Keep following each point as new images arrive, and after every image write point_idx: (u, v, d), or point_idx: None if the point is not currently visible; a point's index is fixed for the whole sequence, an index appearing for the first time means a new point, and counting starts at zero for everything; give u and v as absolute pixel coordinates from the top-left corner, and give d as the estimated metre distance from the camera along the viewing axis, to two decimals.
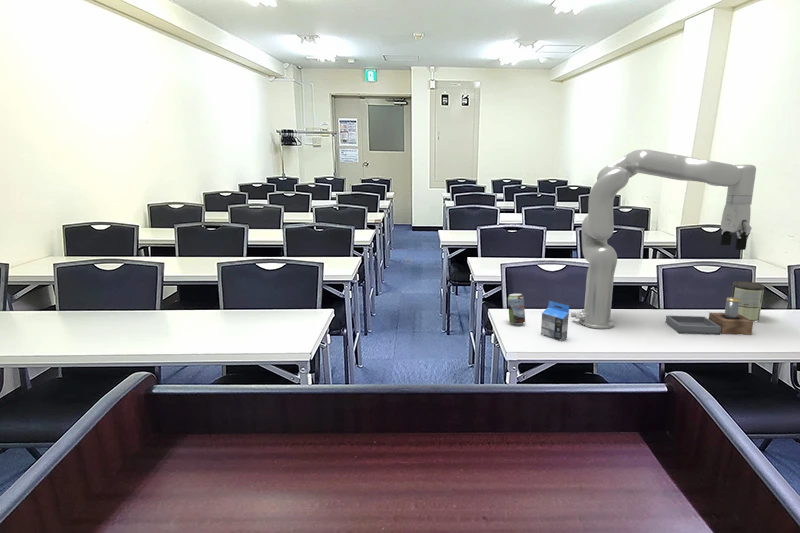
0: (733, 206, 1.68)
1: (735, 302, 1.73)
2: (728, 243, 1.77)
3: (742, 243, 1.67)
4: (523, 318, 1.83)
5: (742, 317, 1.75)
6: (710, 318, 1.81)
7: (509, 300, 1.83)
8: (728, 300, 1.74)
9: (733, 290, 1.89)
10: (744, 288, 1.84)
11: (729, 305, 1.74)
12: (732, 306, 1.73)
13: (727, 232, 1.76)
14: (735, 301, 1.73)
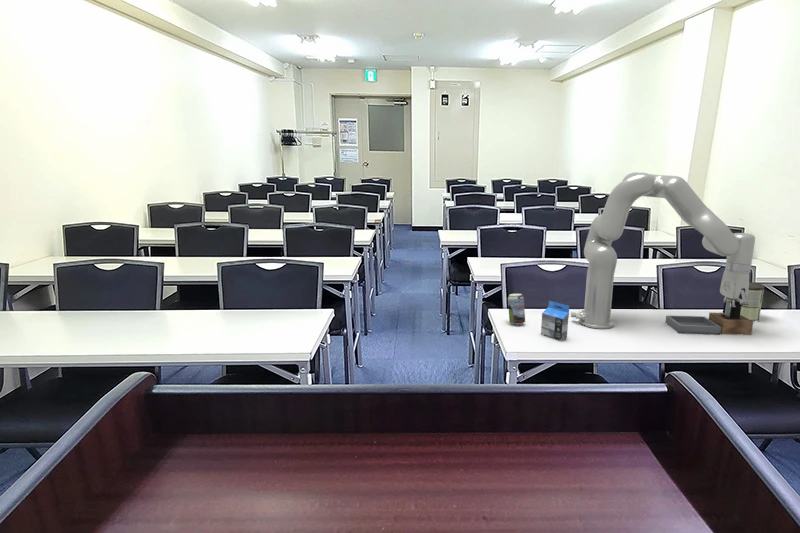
0: (732, 274, 1.71)
1: None
2: None
3: (736, 312, 1.72)
4: (523, 318, 1.83)
5: (742, 317, 1.75)
6: (710, 318, 1.81)
7: (509, 300, 1.83)
8: (728, 300, 1.74)
9: None
10: None
11: (729, 305, 1.74)
12: None
13: None
14: None
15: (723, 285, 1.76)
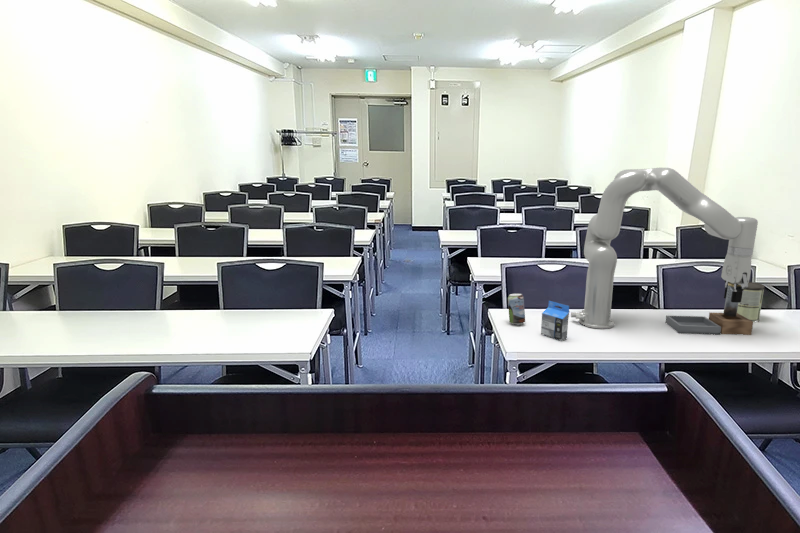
0: (734, 258, 1.70)
1: None
2: None
3: (738, 296, 1.71)
4: (523, 318, 1.83)
5: (742, 317, 1.75)
6: (710, 318, 1.81)
7: (509, 300, 1.83)
8: (729, 285, 1.73)
9: None
10: None
11: (730, 290, 1.73)
12: None
13: None
14: (737, 286, 1.72)
15: (725, 270, 1.75)
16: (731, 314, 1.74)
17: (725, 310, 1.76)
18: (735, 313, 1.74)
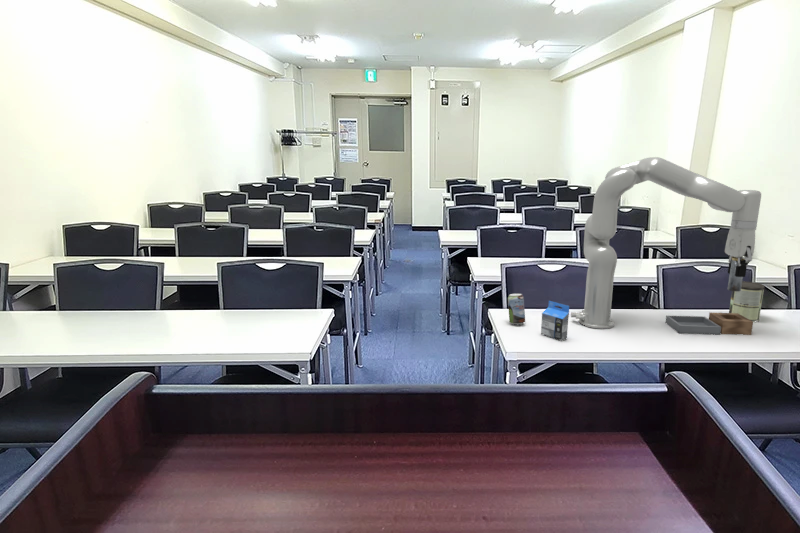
0: (738, 231, 1.68)
1: None
2: None
3: (742, 270, 1.69)
4: (523, 318, 1.83)
5: (742, 317, 1.75)
6: (710, 318, 1.81)
7: (509, 300, 1.83)
8: (733, 259, 1.71)
9: None
10: (744, 288, 1.84)
11: (734, 264, 1.71)
12: None
13: None
14: (741, 260, 1.70)
15: (728, 244, 1.73)
16: (735, 289, 1.72)
17: (729, 285, 1.74)
18: (739, 288, 1.72)
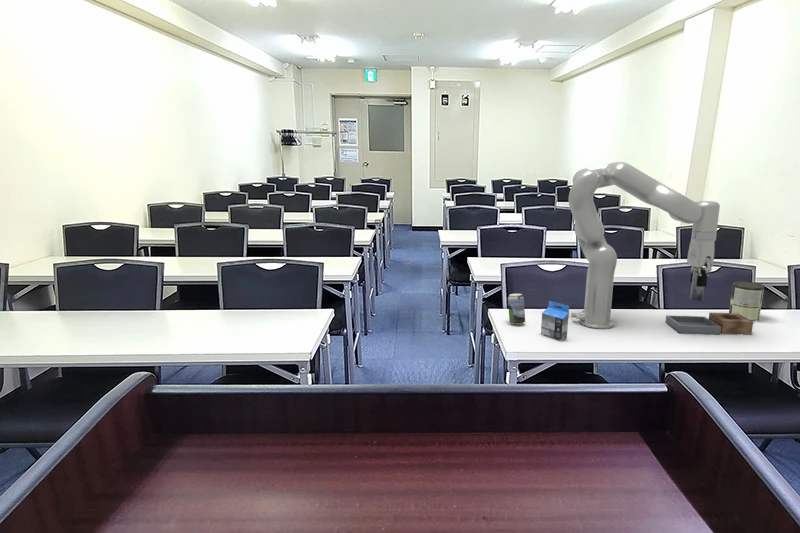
0: (698, 242, 1.70)
1: None
2: None
3: (702, 280, 1.72)
4: (523, 318, 1.83)
5: (742, 317, 1.75)
6: (710, 318, 1.81)
7: (509, 300, 1.83)
8: (695, 269, 1.74)
9: (733, 290, 1.89)
10: (744, 288, 1.84)
11: (695, 274, 1.73)
12: None
13: None
14: None
15: (690, 254, 1.76)
16: (697, 298, 1.74)
17: (691, 294, 1.76)
18: (701, 297, 1.74)
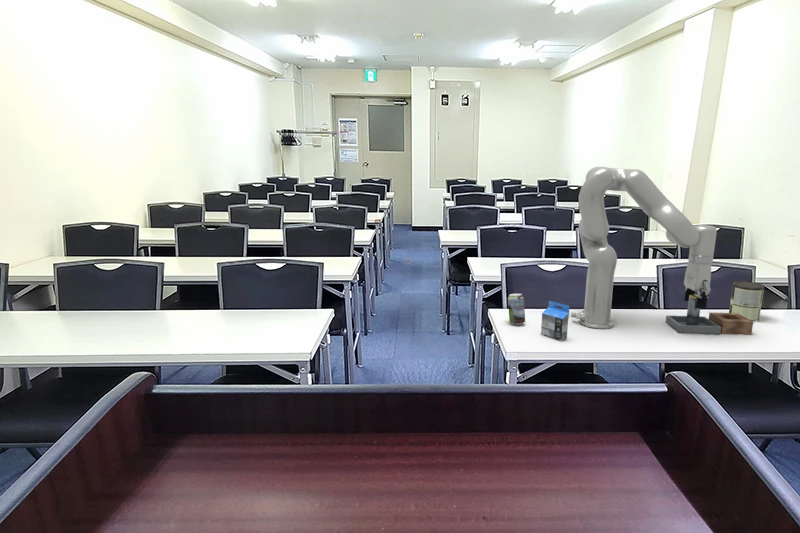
0: (695, 266, 1.72)
1: (696, 299, 1.75)
2: None
3: (702, 302, 1.71)
4: (523, 318, 1.83)
5: (742, 317, 1.75)
6: (710, 318, 1.81)
7: (509, 300, 1.83)
8: (690, 297, 1.76)
9: (733, 290, 1.89)
10: (744, 288, 1.84)
11: (691, 302, 1.76)
12: (694, 302, 1.75)
13: (690, 289, 1.80)
14: None
15: (687, 277, 1.77)
16: None
17: (687, 322, 1.78)
18: None
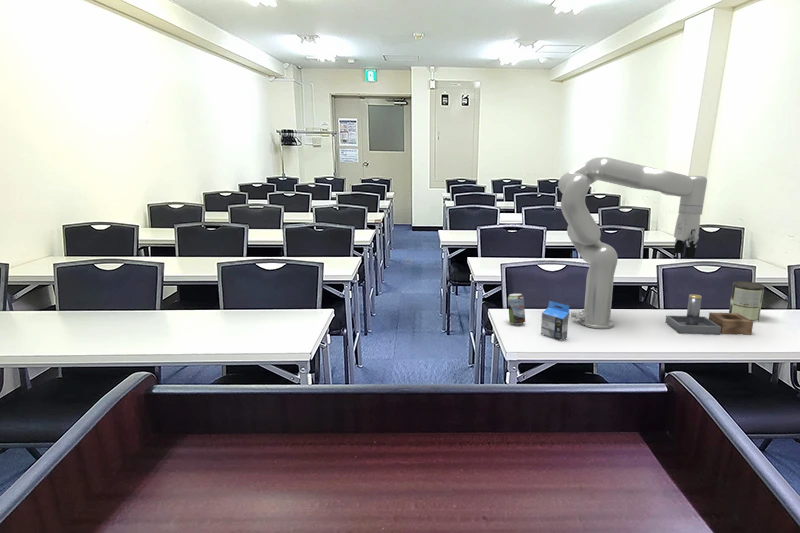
0: (684, 215, 1.74)
1: (696, 299, 1.75)
2: (681, 251, 1.83)
3: (690, 251, 1.72)
4: (523, 318, 1.83)
5: (742, 317, 1.75)
6: (710, 318, 1.81)
7: (509, 300, 1.83)
8: (690, 297, 1.76)
9: (733, 290, 1.89)
10: (744, 288, 1.84)
11: (691, 302, 1.76)
12: (694, 302, 1.75)
13: (680, 241, 1.82)
14: (697, 298, 1.75)
15: (676, 228, 1.79)
16: None
17: (687, 322, 1.78)
18: None
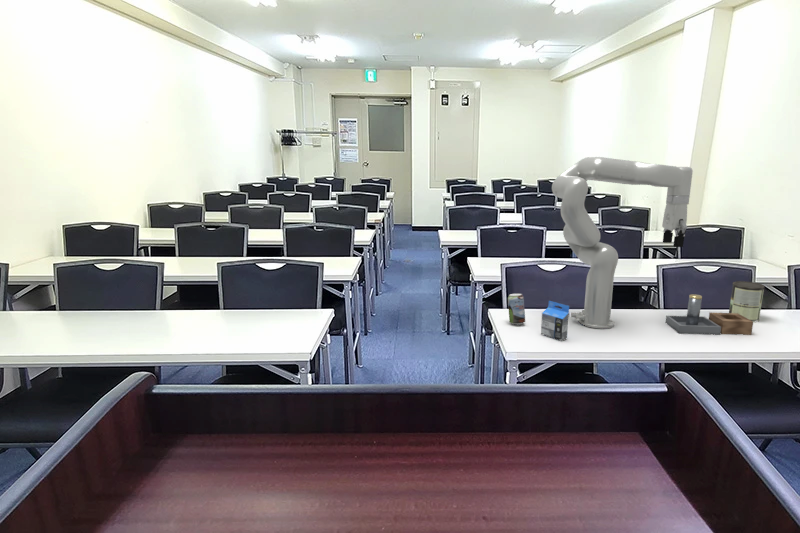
0: (672, 206, 1.78)
1: (697, 299, 1.74)
2: (669, 241, 1.87)
3: (679, 241, 1.77)
4: (523, 318, 1.83)
5: (742, 317, 1.75)
6: (710, 318, 1.81)
7: (509, 300, 1.83)
8: (690, 297, 1.76)
9: (733, 290, 1.89)
10: (744, 288, 1.84)
11: (691, 302, 1.76)
12: (695, 303, 1.75)
13: (668, 230, 1.87)
14: (697, 298, 1.74)
15: (665, 219, 1.84)
16: None
17: (687, 322, 1.78)
18: None
